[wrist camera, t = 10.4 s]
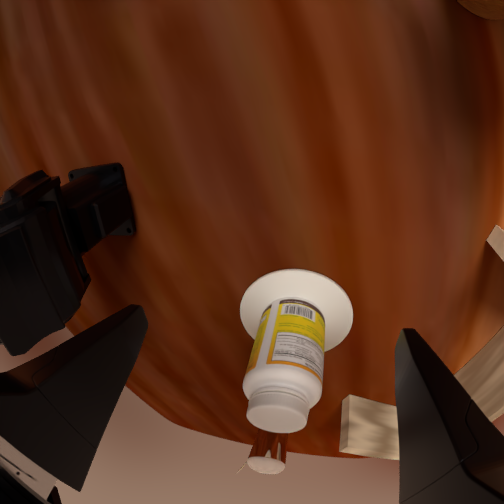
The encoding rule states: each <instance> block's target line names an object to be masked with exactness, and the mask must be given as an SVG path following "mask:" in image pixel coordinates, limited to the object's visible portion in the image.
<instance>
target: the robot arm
mask: <svg viewBox="0 0 504 504" xmlns="http://www.w3.org/2000/svg"><path fill="white" fill-rule="evenodd" d="M116 168H117V169H118V170H116ZM68 176H69V181H70V182H69V183H67V184H65V185H63V186H61V187H60V183H61V182H60V178H59V176H56V177H49V176H48V175H46V174H45V172H44V171H43V170H39V171H36V172H34V173H32V174H30V175H28V176H26V177H24V178H22V179H20V180H19V181H17V182H16V183H15V184H13V185H12V186H11V187H9V188H8V189H7V190H6V191H4V193H3V195H2V197H1V198H0V344H2V345H4V346H5V348H6V349H7V351H8V352H9V354H10V355H12V356H17V355H21V354H25V353H26V352H27V351H29V350H30V349H31V348H32V347H33V346H34V345H35V344H36V343H38V342H39V341H40V340H41V339H43V338H44V337H46V336H48V335H49V334H51V333H53V332H56V331H58V330H61V329H63V328H65V323H66V322H68V321H69V320H70V319H71V318H72V317H73V315H74V314H75V313H76V311H77V310H78V309H79V308H80V306H81V303H80V302H81V299H82V297H83V295H84V293H85V291H86V289H87V287H88V285H89V283H90V282H91V278H90V275H89V274H88V273H87V271H86V268H85V265H84V263H83V260H82V257H81V256H83V255H84V254H85V253H86V252H88V251H89V250H90V249H91V248H93V247H94V246H95V245H96V244H97V243H99V242H100V241H101V240H102V239H103V238H105V237H107V236H108V235H132V234H134V233H135V231H136V228H135V224H134V219H133V215H132V211H131V206H130V202H129V197H128V193H127V188H126V183H125V178H124V173H123V168H122V165H121V164H120V163H111V164H104V165H98V166H92V167H86V168H80V169H75V170H72V171H70V172H69V174H68ZM129 228H130V229H131V231H130V230H129ZM147 329H148V321H147V318H146V315H145V313H144V310H143V308H142V306H140V305H134V304H131V305H129V306H127V307H126V308H124V309H122V310H120V311H118V312H117V313H115V314H113V315H111V316H109V317H108V318H106V319H104V320H102V321H101V322H99V323H97V324H95V325H94V326H92V327H90V328H88V329H86V330H85V331H83V332H81V333H79V334H78V335H76V336H74V337H72V338H71V339H69V340H67V341H65V342H64V343H62V344H60V345H59V346H57V347H55V348H53V349H51V350H50V351H48V352H46V353H44V354H42V355H41V356H39V357H36V358H34V359H32V360H30V361H28V362H26V363H24V364H22V365H20V366H18V367H16V368H14V369H12V370H9V371H7V372H3V373H0V504H62V503H61V500H60V496H59V493H58V489H57V487H56V486H54V485H55V483H56V481H57V479H59V480H60V481H62V482H64V483H65V484H67V485H68V486H70V487H72V488H73V489H75V490H77V491H79V492H80V491H81V489H82V487H83V484H84V481H85V479H86V476H87V474H88V471H89V468H90V466H91V463H92V461H93V458H94V456H95V453H96V451H97V448H98V446H99V443H100V441H101V438H102V436H103V434H104V431H105V429H106V427H107V424H108V422H109V420H110V417H111V415H112V413H113V410H114V408H115V406H116V403H117V401H118V399H119V397H120V395H121V392H122V390H123V388H124V386H125V384H126V381H127V379H128V377H129V375H130V373H131V371H132V369H133V366H134V364H135V362H136V359H137V357H138V354H139V351H140V348H141V345H142V343H143V340H144V337H145V334H146V331H147ZM395 397H396V408H397V421H398V437H399V463H400V492H399V493H400V494H399V504H504V436H503V435H502V434H501V432H500V431H499V430H498V429H497V428H496V427H495V426H494V425H493V423H492V422H491V421H490V420H489V419H488V418H487V417H486V415H485V414H484V413H483V412H482V410H481V409H480V408H479V407H478V405H477V404H476V403H475V401H474V400H473V399H471V396H470V395H469V394H468V393H467V391H466V390H465V389H464V387H463V386H462V385H461V384H460V382H459V381H458V380H457V379H456V377H455V376H454V375H453V374H452V372H451V371H450V370H449V369H448V368H447V366H446V365H445V364H444V363H443V362H442V360H441V359H440V358H439V357H438V356H437V354H436V353H435V352H434V351H433V350H432V348H431V347H430V346H429V345H428V344H427V343H426V341H425V340H424V339H423V338H422V337H421V336H420V335H419V333H418V332H417V331H416V330H415V329H413V328H404V329H402V330H401V332H400V335H399V338H398V341H397V344H396V347H395Z"/></svg>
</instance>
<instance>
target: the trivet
mask: <svg viewBox="0 0 504 504" xmlns="http://www.w3.org/2000/svg"><path fill="white" fill-rule="evenodd" d="M284 297H300V298H304V299H307V300H309V301H311V302H312V303H314V304H315V305H316V306H318V307H319V309H320V310H321V311H322V313H323V315H324V318H325V346H324V352H326V351H328V350H330V349H332V348H334V347H335V346H337V345H338V344H339V343H340V342H342V340H343V339H344V338H345V337H346V336H347V334H348V333H349V331H350V329H351V326H352V322H353V310H352V305H351V302H350V299H349V297H348V295H347V294H346V292H345V291H344V290H343V289H342V288H341V287H340V286H339V285H338V284H337V283H336V282H335V281H333V280H331V279H330V278H328V277H326V276H324V275H322V274H319V273H316V272H314V271H309V270H303V269H283V270H278V271H274V272H271V273H268V274H266V275H264V276H262V277H260V278H258V279H257V280H256V281H254V282H253V283H252V284H251V285H250V286H249V288H248V289H247V290H246V292H245V294H244V296H243V298H242V301H241V305H240V316H241V320H242V323H243V325H244V327H245V329H246V331H247V332H248V333H249V335H250V336H251V337H252V338H253V339H254V340H255V338H256V334H257V331H258V327H259V324H260V320H261V316H262V313H263V311H264V310H265V308H266V307H267V306H268V305H269V304H270V303H272V302H273V301H275V300H277V299H280V298H284Z"/></svg>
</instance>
